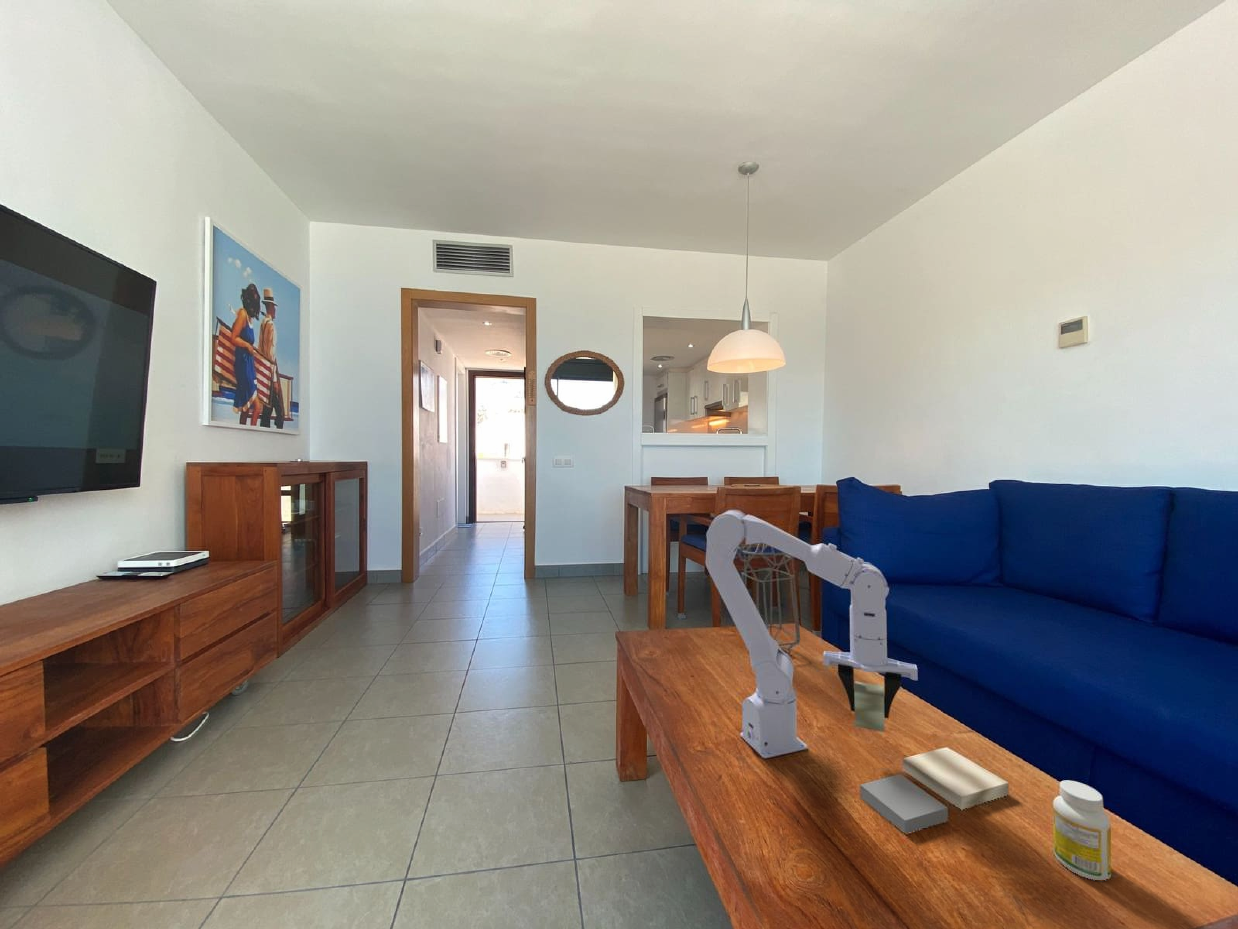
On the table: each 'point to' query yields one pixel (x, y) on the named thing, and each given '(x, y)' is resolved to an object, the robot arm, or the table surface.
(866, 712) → the sage green block
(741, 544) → the geometric lantern
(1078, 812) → the supplement bottle
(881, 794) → the slate grey block
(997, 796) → the pale ash block
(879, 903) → the table surface
